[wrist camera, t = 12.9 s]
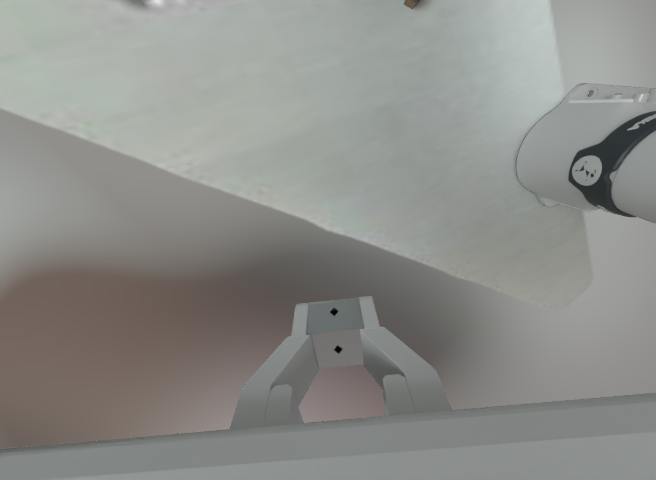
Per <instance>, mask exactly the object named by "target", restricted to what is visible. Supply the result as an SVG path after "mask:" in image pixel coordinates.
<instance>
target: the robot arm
mask: <svg viewBox="0 0 656 480" xmlns="http://www.w3.org/2000/svg"><path fill="white" fill-rule="evenodd" d="M588 92H589V95H588V96H587V94H588ZM516 170H517V175H518V178H519V180H520V182H521V184H522V185H523V186H524V187H525V188H526V189H528V190H529V191H531V192H533V193H534V194H536V195H537V198H538V200H539V202H540V203H541V204H542V205H544V206H547V207H552V206H556V205H559V204H562V205H565V206H569V207H572V208H575V209H579V210H582V211H586V212H590V211H592V210H597V209H600V208H601V209H603V210H604V211H607V212H610V213H613V214H618V215H622V216H627V217H639V218H642V219H644V220H647V221H650V222H653V223H656V89H655V88H642V87H628V86H614V85H601V84H587V83H582V84H578V85H576V86H575V87H574V88H573V89H572V90H571V91H570V92H569V93H568V95H567V96H566V97H565V98H564V100H563V101H562V102H561V103H560V104H559V105H558V106H557V107H556V108H555V109H553V110H552V111H551V112H549V113H548V114H546V115H545V116H544V117H543V118H542V119H540V120H539V121H538V122H537V123H536V124H535V126H534V127H533V128H532V129H531V130H530V132H529V133H528V134H527V136H526V138H525V139H524V141H523V143H522V145H521V147H520V150H519V153H518V157H517V163H516ZM349 365H364V366H365V368H366V369H367V370H368V372H369V373H370V374H371V375H372V377H373V378H374V379H375V381H376V382H377V383H378V384H379V386H380V387H381V388H382V389H383V398H384V416H379V417H368V418H356V419H345V420H333V421H321V422H309V423H303V420H302V416H301V413H300V410H299V407H298V406H299V405H300V403H301V401H302V399H303V397H304V395H305V394H306V392H307V390H308V389H309V387H310V385H311V383H312V381H313V380H314V378H315V376H316V374H317V373H318V370H319V369H322V368H329V367H337V366H349ZM0 480H656V393H647V394H635V395H624V396H613V397H600V398H589V399H578V400H565V401H554V402H542V403H530V404H519V405H507V406H495V407H484V408H472V409H461V410H452V408H451V406H450V403H449V401H448V399H447V396H446V394H445V392H444V389H443V387H442V385H441V382H440V380H439V377H438V375H437V372H436V370H435V369H434V368H433V367H431V366H430V365H429V364H428V363H426V362H425V361H424V360H423V359H422V358H420V357H419V356H418V355H417V354H416V353H415V352H413V351H412V350H411V349H410V348H409V347H407V346H406V345H405V344H404V343H403V342H401V341H400V340H399V339H398V338H397V337H395V336H394V335H393V334H392V333H391V332H389V331H388V330H387V329H386V328H385V327H380V326H379V322H378V318H377V314H376V310H375V306H374V302H373V298H372V296H366V297H359V298H351V299H343V300H334V301H323V302H311V303H303V304H297V305H296V308H295V315H294V321H293V328H292V334H291V337H287V338H286V339H285V340H284V341H283V342H282V343H281V345H280V346H279V347H278V348H277V349H276V350H275V351H274V352H273V354H272V355H271V356H270V357H269V358H268V359H267V360H266V362H265V363H264V364H263V365H262V366H261V367H260V368H259V369H258V370H257V372H256V373H255V374H254V375H253V376H252V377H251V378H250V379H249V381H248V382H247V383H246V384H245V385H244V386H243V387H242V390H241V394H240V397H239V400H238V403H237V407H236V410H235V414H234V417H233V420H232V423H231V427H230V429H229V430H216V431H204V432H193V433H181V434H170V435H157V436H146V437H134V438H122V439H111V440H99V441H87V442H76V443H64V444H52V445H41V446H28V447H17V448H5V449H0Z"/></svg>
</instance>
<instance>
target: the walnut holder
mask: <svg viewBox="0 0 656 480" xmlns="http://www.w3.org/2000/svg"><path fill="white" fill-rule="evenodd" d="M418 1H419V0H405V3H404V5H406V6H408V7H410V8H411V9H412V8H413V7H414V6H415V5H416V4H417V2H418Z"/></svg>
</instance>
